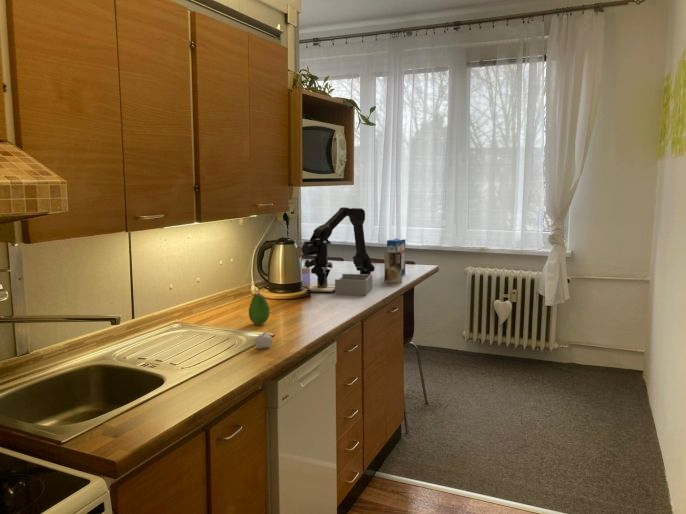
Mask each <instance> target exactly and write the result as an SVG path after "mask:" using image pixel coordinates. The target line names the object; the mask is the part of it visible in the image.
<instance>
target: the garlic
mask: <svg viewBox="0 0 686 514" xmlns="http://www.w3.org/2000/svg"><path fill="white" fill-rule="evenodd" d="M254 344H255V346H256V348H258V349H260V350H264V349H263V348H265V349H268V348H269V347H270V346H271V345H272V344H273V337H272V336H271V335H270V334H269V335H268V334H267V331H264V332H263V333H261V334H259V335H258V336H256V337H255V338H254ZM267 347H268V348H267Z"/></svg>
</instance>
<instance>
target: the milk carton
mask: <svg viewBox="0 0 686 514" xmlns="http://www.w3.org/2000/svg"><path fill="white" fill-rule="evenodd" d="M386 251H401V270H402V276H404V275H406V239H405V238H392V239H388V240H386ZM403 274H404V275H403Z"/></svg>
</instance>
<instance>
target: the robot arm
mask: <svg viewBox="0 0 686 514" xmlns="http://www.w3.org/2000/svg"><path fill="white" fill-rule="evenodd" d="M338 209H339V210H337V211H336V212H335V213H334V214H333V215H332V216H331V217H330V218H329V219H328V220H327V221H326V222H324V224H323V223H322V224H321V225H319V226H318V227H316V228H315V229H314V230H313V233H312V235H311V237H310V239H309V241H308V240H307V241H304V243H303V244H302V247H301V252H302V255H303V256H305V257H306V256H314V255H315V256H314V257H313V259H310V258H308V259H306V260H304V266H305V268H306V269H309V268H310V274H315V276H316V277H317V278H318V280H319V283H320V286H322V285H323V283H324V279H325V277H327V278H328V277H329V274H330V272H331V269H332V268H333V263H332V262H331V261H328V260H329V256H330V255H329V253H328V245H330V244H332V243H331V241H330V240H329V238H330V237H331V235H332V233H333V231H334V229H335V228H336V227H337V226H338V225H340V223H341V222H342V221H343V220H345V218H347V217H348V218H349V221H350V223H351V224H352V226H353V234H354V235H353V236H354V242H355V243H354V244H355V250H356V251H355V255H353V256H352V259H353V264H354V267H355V269H356V271H359V274H368V275H372V272H374V271H375V266H374V265H373V264H372V262H371V258H370V256H369V254H368V253H367V251H366V250H367V249H366V242H365V233H364V222H365V220H366V211H365V210H364V208H359V207H350V208H349V207H340V208H338Z"/></svg>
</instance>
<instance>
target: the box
mask: <svg viewBox="0 0 686 514" xmlns="http://www.w3.org/2000/svg"><path fill="white" fill-rule="evenodd" d="M334 284H335V290H334V294H335V295H339V296H342V295H344V296H345V295H346V296H367V295H368V294H369V293H370V292H371V290H372V289H373V274H371V275H368V274H360V273H358V274H356V273H342V275H341V277H339V278H338V279H337V278H335V279H334Z"/></svg>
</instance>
